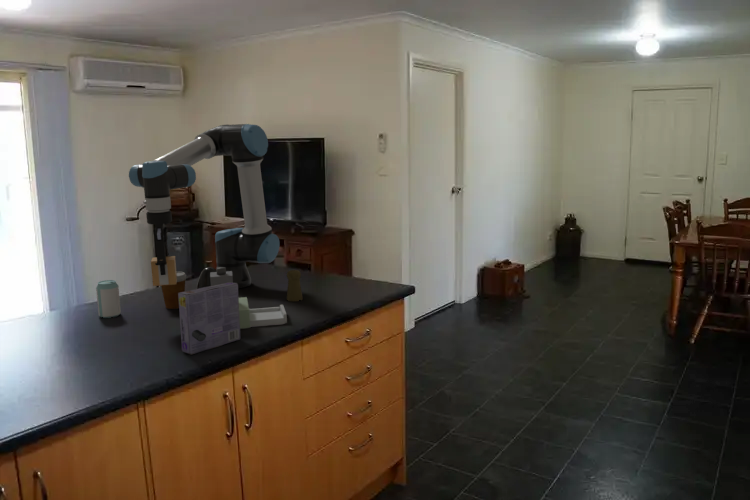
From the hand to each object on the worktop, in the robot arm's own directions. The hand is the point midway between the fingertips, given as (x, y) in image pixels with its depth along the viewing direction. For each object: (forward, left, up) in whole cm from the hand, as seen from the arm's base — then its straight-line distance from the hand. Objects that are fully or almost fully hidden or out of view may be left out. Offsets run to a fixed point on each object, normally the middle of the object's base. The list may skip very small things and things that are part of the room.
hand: (165, 281), depth 204 cm
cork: (-21, +44, -15) cm, 51 cm away
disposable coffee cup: (-23, +1, -15) cm, 27 cm away
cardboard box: (0, 0, 0) cm, 0 cm away
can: (-17, -20, -15) cm, 30 cm away
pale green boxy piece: (+2, +25, -15) cm, 29 cm away
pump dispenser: (-16, +14, -15) cm, 25 cm away
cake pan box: (+24, +14, -15) cm, 32 cm away
